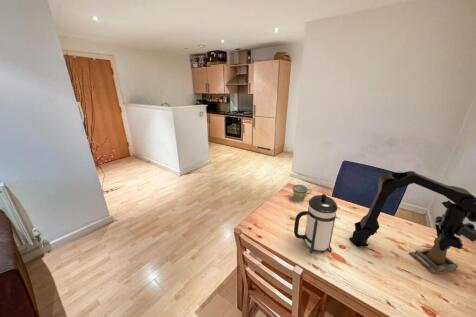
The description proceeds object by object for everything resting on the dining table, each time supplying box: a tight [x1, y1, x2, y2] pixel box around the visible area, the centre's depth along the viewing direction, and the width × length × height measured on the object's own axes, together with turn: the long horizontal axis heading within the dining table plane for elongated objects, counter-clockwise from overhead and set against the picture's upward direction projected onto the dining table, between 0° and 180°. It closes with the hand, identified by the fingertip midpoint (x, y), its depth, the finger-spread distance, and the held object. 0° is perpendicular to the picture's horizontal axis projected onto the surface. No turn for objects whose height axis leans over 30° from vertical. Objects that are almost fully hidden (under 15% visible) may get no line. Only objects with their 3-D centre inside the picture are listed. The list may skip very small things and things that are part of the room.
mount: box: [408, 248, 459, 274], centre depth 92 cm, size 12×11×3 cm
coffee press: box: [293, 193, 339, 254], centre depth 97 cm, size 17×16×30 cm
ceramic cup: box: [292, 184, 312, 203], centre depth 141 cm, size 13×10×10 cm
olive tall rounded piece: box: [426, 237, 451, 265], centre depth 89 cm, size 6×6×11 cm
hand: (440, 246), depth 89 cm, fingers closed on olive tall rounded piece, 5 cm apart
